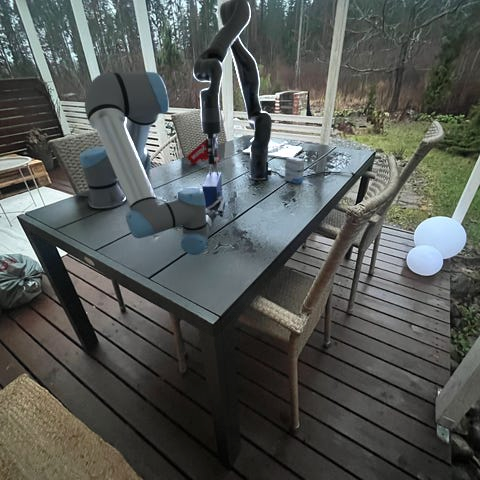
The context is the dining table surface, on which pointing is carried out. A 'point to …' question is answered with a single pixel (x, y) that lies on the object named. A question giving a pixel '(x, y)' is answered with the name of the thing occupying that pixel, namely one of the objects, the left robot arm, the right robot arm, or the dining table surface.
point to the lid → (212, 177)
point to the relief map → (280, 150)
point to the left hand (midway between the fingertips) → (211, 195)
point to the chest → (212, 194)
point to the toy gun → (200, 154)
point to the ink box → (294, 170)
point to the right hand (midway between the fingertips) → (213, 161)
